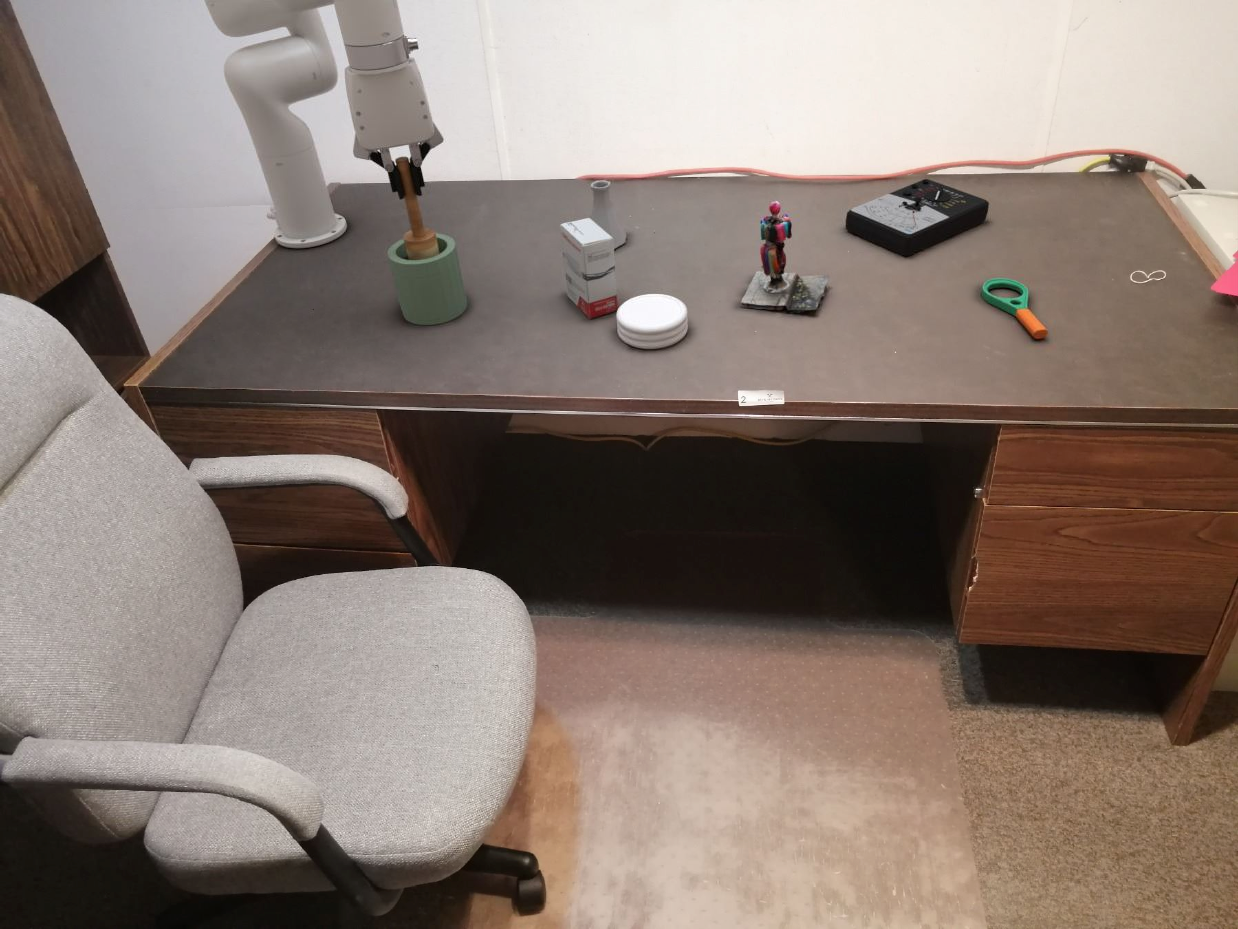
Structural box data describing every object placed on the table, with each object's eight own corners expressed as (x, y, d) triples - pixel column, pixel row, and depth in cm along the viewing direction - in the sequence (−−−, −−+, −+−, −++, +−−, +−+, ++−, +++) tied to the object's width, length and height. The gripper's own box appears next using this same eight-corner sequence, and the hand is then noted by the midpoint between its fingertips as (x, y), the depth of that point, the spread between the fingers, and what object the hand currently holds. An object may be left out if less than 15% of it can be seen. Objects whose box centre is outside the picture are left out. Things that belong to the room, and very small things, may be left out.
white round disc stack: (666, 357, 121) (665, 335, 119) (604, 340, 126) (602, 318, 123) (700, 322, 127) (700, 301, 125) (640, 307, 132) (639, 286, 130)
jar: (389, 318, 135) (373, 257, 128) (428, 288, 141) (415, 229, 135) (442, 330, 131) (428, 268, 124) (479, 299, 137) (468, 238, 131)
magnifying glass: (974, 287, 130) (976, 276, 129) (1015, 283, 130) (1017, 273, 129) (1016, 342, 118) (1019, 331, 117) (1061, 338, 118) (1064, 327, 117)
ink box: (619, 310, 132) (614, 236, 124) (589, 320, 130) (581, 245, 123) (595, 287, 138) (588, 214, 130) (566, 295, 136) (557, 223, 129)
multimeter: (986, 221, 146) (993, 192, 142) (905, 258, 138) (910, 228, 135) (923, 197, 154) (927, 169, 151) (843, 231, 147) (846, 202, 143)
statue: (741, 314, 131) (730, 218, 122) (758, 283, 137) (748, 189, 128) (816, 316, 126) (810, 216, 117) (829, 283, 133) (824, 187, 124)
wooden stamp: (403, 267, 130) (377, 163, 120) (422, 254, 133) (399, 151, 124) (428, 272, 128) (404, 166, 119) (447, 258, 131) (425, 154, 122)
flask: (577, 248, 148) (570, 190, 142) (594, 230, 153) (588, 173, 147) (617, 253, 146) (612, 194, 140) (633, 234, 151) (629, 176, 145)
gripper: (435, 37, 117) (461, 174, 129) (312, 56, 114) (350, 195, 126) (443, 51, 111) (470, 193, 123) (315, 71, 108) (354, 215, 120)
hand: (409, 193), depth 124 cm, fingers closed on wooden stamp
